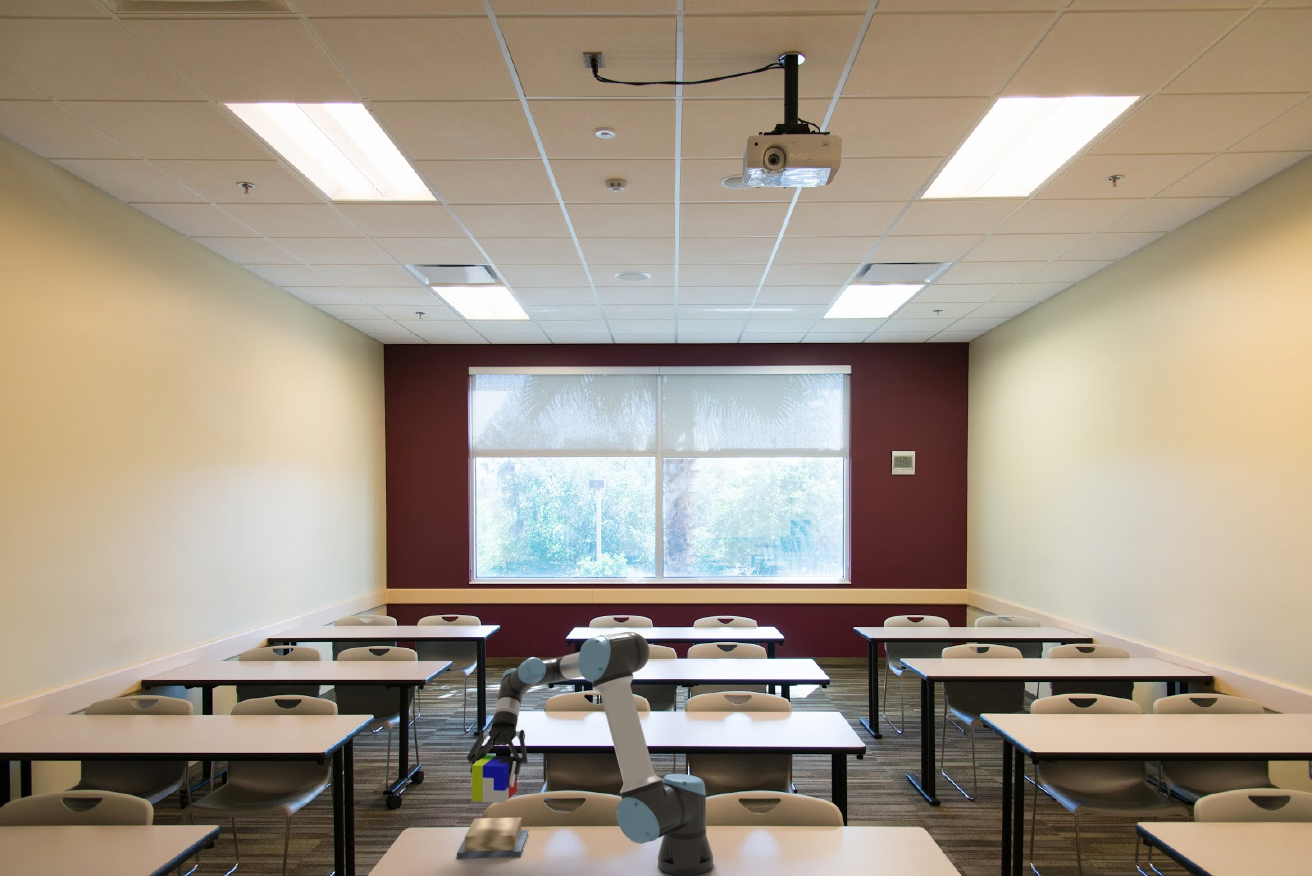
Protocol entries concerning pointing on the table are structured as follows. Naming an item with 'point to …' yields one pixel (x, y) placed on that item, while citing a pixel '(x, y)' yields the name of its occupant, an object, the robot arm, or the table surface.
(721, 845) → the table surface
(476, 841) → the foundation block
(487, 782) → the puzzle toy
